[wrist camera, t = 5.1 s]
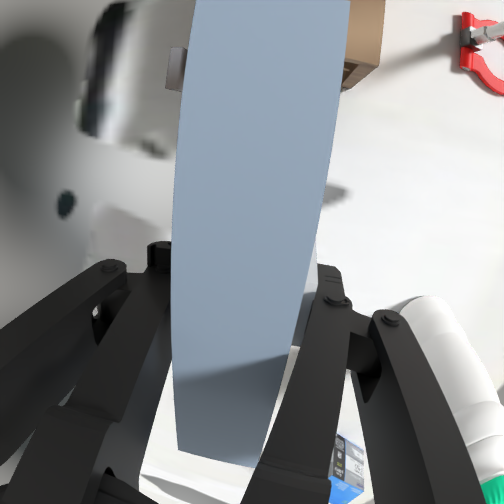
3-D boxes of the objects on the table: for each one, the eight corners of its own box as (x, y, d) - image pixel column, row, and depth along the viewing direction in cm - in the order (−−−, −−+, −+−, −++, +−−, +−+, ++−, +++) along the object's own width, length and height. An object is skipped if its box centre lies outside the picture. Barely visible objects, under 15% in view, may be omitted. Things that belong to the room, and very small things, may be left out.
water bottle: (424, 350, 35) (478, 531, 12) (382, 331, 34) (423, 539, 12) (458, 306, 32) (550, 483, 9) (417, 283, 32) (510, 488, 9)
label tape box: (364, 450, 44) (367, 511, 32) (344, 458, 45) (344, 518, 34) (334, 429, 42) (333, 497, 31) (313, 439, 44) (308, 505, 32)
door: (263, 70, 15) (193, -10, 5) (323, 78, 14) (350, 0, 4) (234, 305, 20) (175, 449, 10) (282, 314, 20) (256, 468, 10)
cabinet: (233, -47, 21) (199, -109, 10) (364, -32, 20) (387, -95, 9) (207, 98, 28) (151, 85, 17) (345, 119, 27) (371, 114, 16)
